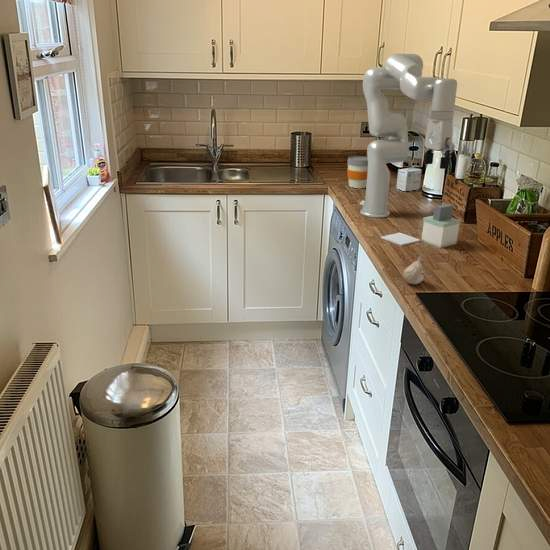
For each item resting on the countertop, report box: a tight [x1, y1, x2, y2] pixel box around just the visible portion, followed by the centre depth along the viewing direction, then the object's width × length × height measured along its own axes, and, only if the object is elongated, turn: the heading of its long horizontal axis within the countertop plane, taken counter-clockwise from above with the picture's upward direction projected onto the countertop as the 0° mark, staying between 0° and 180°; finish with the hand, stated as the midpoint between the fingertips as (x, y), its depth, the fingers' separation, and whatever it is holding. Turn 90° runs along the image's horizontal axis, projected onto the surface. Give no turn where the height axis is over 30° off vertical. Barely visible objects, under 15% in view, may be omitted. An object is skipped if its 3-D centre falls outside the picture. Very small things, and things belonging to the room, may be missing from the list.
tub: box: [420, 221, 460, 249], centre depth 207 cm, size 9×9×8 cm
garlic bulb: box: [402, 255, 425, 285], centre depth 170 cm, size 7×6×8 cm
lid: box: [422, 203, 461, 227], centre depth 205 cm, size 9×9×7 cm
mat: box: [380, 232, 421, 246], centre depth 211 cm, size 10×10×1 cm
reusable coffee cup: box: [346, 155, 368, 188], centre depth 286 cm, size 13×13×15 cm
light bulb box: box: [395, 167, 422, 192], centre depth 284 cm, size 11×7×11 cm, turn 124°
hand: (435, 166), depth 198 cm, fingers open, 9 cm apart
